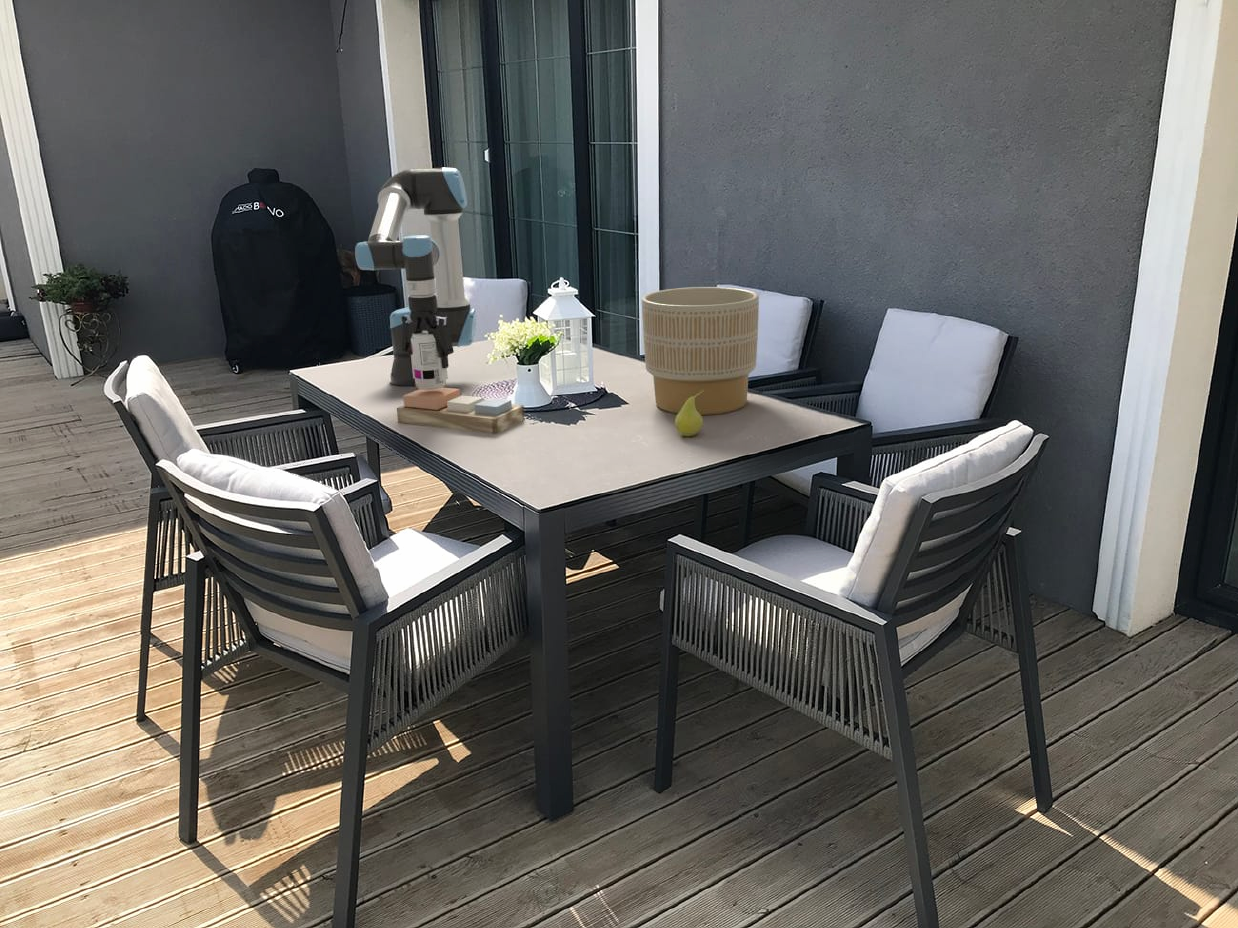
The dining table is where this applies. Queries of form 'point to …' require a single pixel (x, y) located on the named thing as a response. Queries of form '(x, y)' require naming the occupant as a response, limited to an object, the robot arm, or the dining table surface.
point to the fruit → (689, 418)
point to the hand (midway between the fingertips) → (430, 378)
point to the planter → (701, 346)
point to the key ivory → (463, 403)
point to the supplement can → (425, 361)
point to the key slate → (493, 406)
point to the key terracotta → (430, 398)
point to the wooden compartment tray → (462, 419)
